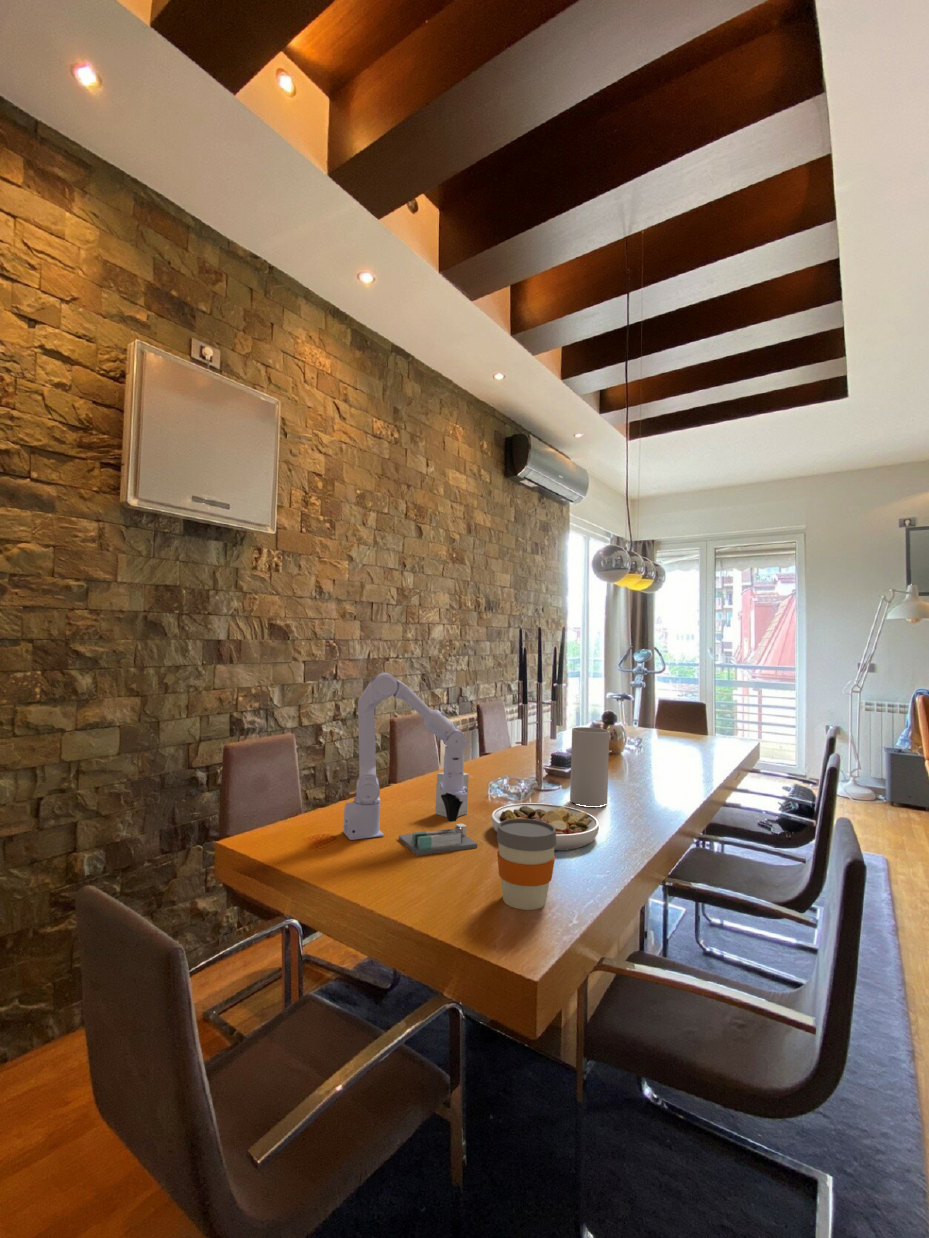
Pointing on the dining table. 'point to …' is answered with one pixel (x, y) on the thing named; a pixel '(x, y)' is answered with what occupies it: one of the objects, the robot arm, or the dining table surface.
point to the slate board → (465, 844)
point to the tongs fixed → (440, 840)
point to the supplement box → (439, 802)
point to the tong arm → (417, 834)
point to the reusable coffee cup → (525, 861)
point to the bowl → (554, 822)
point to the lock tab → (463, 827)
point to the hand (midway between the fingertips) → (451, 820)
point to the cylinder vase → (589, 766)
